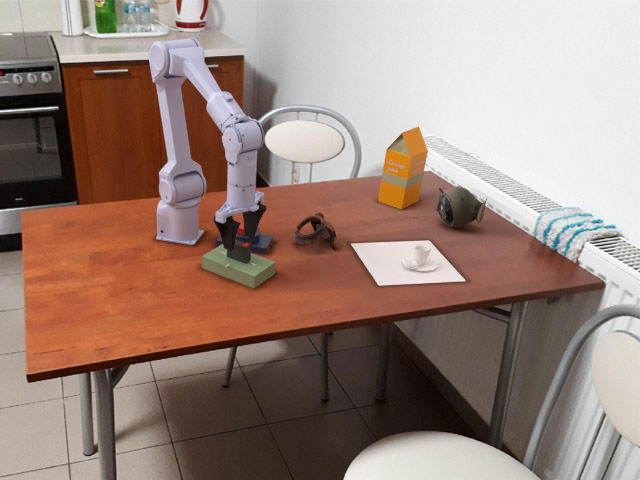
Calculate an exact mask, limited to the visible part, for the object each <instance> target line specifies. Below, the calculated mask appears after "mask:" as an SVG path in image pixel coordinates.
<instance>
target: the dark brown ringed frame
mask: <svg viewBox="0 0 640 480" xmlns="http://www.w3.org/2000/svg"><path fill="white" fill-rule="evenodd" d="M309 223H310V225H311V227H312V229H313V231H312V232H311V233H309V234H302V233H300V230H302V228H303V227H304V226H306V225H307V224H309ZM294 234H295V243H296V244H297V245H300V246H310V245H317V246H320V242H319V241H320V239H319V238H322V239H323V238H325V240H326V241H332V242H333V246H334V250H337V249H338V237H337V232H336V230H335V228H334V226H333V225H332V223H331V222H330V221H328V220H326V219H325V216H324V214H323V213H322V212H317V213H315V214H313V215H309V216H306V217H304V218H303V219H301V220H300V221H299V222H298V223H297V224H296V230H295V232H294Z"/></svg>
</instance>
